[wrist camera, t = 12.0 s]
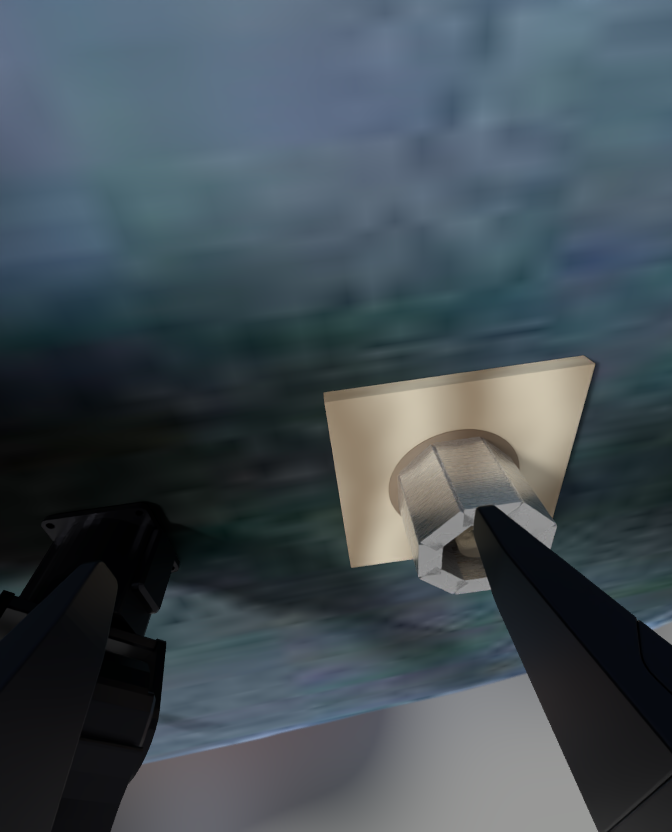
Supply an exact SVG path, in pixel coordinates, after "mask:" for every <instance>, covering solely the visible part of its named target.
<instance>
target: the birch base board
mask: <svg viewBox="0 0 672 832" xmlns="http://www.w3.org/2000/svg"><path fill="white" fill-rule="evenodd" d="M594 367H595V363H593V362H592V361H591V360H589V359H588V358H586V357H585V356H577V357H570V358H563V359H556V360H549V361H542V362H535V363H528V364H521V365H514V366H507V367H500V368H493V369H486V370H479V371H472V372H465V373H458V374H451V375H444V376H437V377H430V378H423V379H416V380H409V381H402V382H395V383H388V384H381V385H374V386H367V387H360V388H353V389H346V390H339V391H332V392H325V393H324V402H325V408H326V415H327V421H328V427H329V433H330V439H331V446H332V452H333V458H334V464H335V471H336V477H337V483H338V489H339V495H340V502H341V508H342V514H343V520H344V527H345V533H346V539H347V545H348V551H349V558H350V564H351V568H353V567H360V566H367V565H374V564H381V563H388V562H395V561H403V560H410V559H413V556H412V552H411V549H410V545H409V542H408V538H407V535H406V531H405V527H404V524H403V520H402V517H401V513H400V510H399V506H398V475H399V472H400V471H401V470H402V469H404V468H405V467H406V466H407V465H408V464H409V463H410V462H411V461H412V460H414V459H415V458H416V457H417V456H418V455H419V454H420V453H421V452H422V451H423V450H425V449H426V448H427V447H428V446H429V445H430V444H431V445H432V446H434V443H435V442H443V441H450V440H457V439H465V438H472V437H479V436H480V438H482V437H483V438H485V439H486V440H487V441H489V442H490V443H491V444H493V445H494V446H495V447H497V448H498V449H500V450H501V451H502V452H504V453H505V454H506V455H508V456H509V457H510V458H511V459H512V460H513V462H514V463H515V465H516V466H517V468H518V469H519V470H520V472H521V473H522V475H523V476H524V478H525V479H526V481H527V482H528V484H529V485H530V486H531V488H532V489H533V491H534V492H535V494H536V495H537V497H538V498H539V500H540V501H541V502H542V504H543V505H544V507H545V508H546V510H547V511H548V513H549V514H550V516H551V517H552V518H553V515H554V511H555V507H556V504H557V500H558V497H559V493H560V489H561V486H562V482H563V479H564V475H565V471H566V468H567V464H568V461H569V457H570V453H571V450H572V446H573V442H574V439H575V435H576V432H577V428H578V424H579V421H580V417H581V414H582V410H583V406H584V403H585V399H586V396H587V392H588V388H589V385H590V381H591V378H592V374H593V370H594Z"/></svg>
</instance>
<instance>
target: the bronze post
mask: <svg viewBox="0 0 672 832" xmlns="http://www.w3.org/2000/svg"><path fill="white" fill-rule="evenodd" d="M454 539H455V541H456V544H457V546H458V549H459V551H460V552H461V553H462V554H463V555H465V556H467V557H480V554H479V551H478V548H477V545H476V542H475V539H474V534H473V526H470V527H469V528H467V529H466V530H465V531H463V532H462V533H461V534H459V535H458V536H457V537H455V538H454Z"/></svg>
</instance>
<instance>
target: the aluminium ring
mask: <svg viewBox="0 0 672 832" xmlns="http://www.w3.org/2000/svg"><path fill="white" fill-rule="evenodd" d="M485 505H494V506H496V507H498V508H499V509H500V510H501V511H503V512H504V513H505V514H506V515H508V516H509V517H510V518H512V519H513V520H514V521H515V522H517V523H518V524H519V525H520V526H522V527H523V528H524V529H525V530H527V531H528V532H529V533H530V534H532V535H533V536H534V537H535V538H537V539H538V540H539V541H541V542H542V543H543V544H544V545H546V546H547V547H548V548H549V549H550V548H551V545H552V541H553V538H554V535H555V531H556V528H557V525H556V523H555V521H554V520H553V518H552V517H551V516H550V514H549V513H548V511H547V510H546V508H545V507H544V505H543V504H542V502H541V501H540V500H539V498H538V497H537V495H536V494H535V492H534V491H533V489H532V488H531V486H530V485H529V484H528V482H527V481H526V479H525V478H524V476H523V475H522V473H521V472H520V470H519V469H518V468H517V466H516V465H515V463H514V462H513V460H512V459H511V458H510V457H509V456H508V455H506V454H505V453H504V452H502V451H501V450H500V449H498V448H497V447H495V446H494V445H493V444H491V443H490V442H489V441H487V440H486V439H485V438H483V437H482V438H480V436H479V437H472V438H465V439H457V440H450V441H443V442H435V443H434V446H432V445H431V444H430V445H429V446H428V447H427V448H426V449H425V450H423V451H422V452H421V453H420V454H419V455H418V456H417V457H416V458H415V459H414V460H412V461H411V462H410V463H409V464H408V465H407V466H406V467H405V468H404V469H402V470H401V471H400V472H399V475H398V506H399V510H400V513H401V517H402V520H403V524H404V527H405V531H406V535H407V538H408V542H409V545H410V549H411V552H412V556H413V560H414V563H415V567H416V570H417V574H418V577H419V578H420V579H421V580H423V581H426V582H428V583H430V584H432V585H434V586H436V587H438V588H441V589H443V590H445V591H447V592H449V593H451V594H453V593H455V594H462V593H469V592H477V591H484V590H491V588H490V585H489V582H488V579H487V576H486V573H485V570H484V567H483V563H482V560H481V557H467V556H465V555H463V554H462V553H461V552H460V551H459V549H458V546H457V544H456V541H455V539H454V538H455V537H457V536H458V535H459V534H461V533H462V532H463V531H465V530H466V529H467V528H469V527H470V526H473V525H474V516H475V510H476V508H477V507H478V506H485Z"/></svg>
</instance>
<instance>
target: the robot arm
mask: <svg viewBox="0 0 672 832" xmlns="http://www.w3.org/2000/svg"><path fill="white" fill-rule="evenodd" d="M41 526H42V527H43V529H44V530H45V531H46V532H47V534H48V535H49V536H50V537H51V539H52V540H53V541H54V542H53V544H52V545H51V547H50V548H49V550H48V552H47V553H46V555H45V556H44V558H43V560H42V561H41V563H40V564H39V566H38V568H37V569H36V571H35V572H34V574H33V575H32V577H31V579H30V580H29V582H28V583H27V585H26V587H25V588H24V590H23V591H22V593H21V595H20V596H19V597H17V596H14V595H15V593H12V592H9V591H5V590H3V592H2V593H1V594H0V832H110V831H111V828H112V825H113V822H114V819H115V816H116V813H117V811H118V808H119V805H120V802H121V800H122V797H123V795H124V792H125V790H126V787H127V785H128V784H129V782H130V781H131V780H132V779H133V778H134V776H135V775H136V773H137V772H138V770H139V768H140V767H141V765H142V763H143V761H144V759H145V757H146V755H147V752H148V750H149V747H150V745H151V742H152V739H153V736H154V733H155V730H156V726H157V722H158V718H159V711H160V702H161V692H162V682H163V672H164V662H165V652H166V641H163V640H160V639H156V640H154V639H151V638H148V637H144V635H145V632H146V629H147V626H148V623H149V620H150V616H151V614H153V613H157V612H158V611H159V609H160V607H161V604H162V601H163V597H164V594H165V591H166V587H167V584H168V581H169V577H170V574H171V573H172V572H176V571H178V569H179V566H180V562H179V560H178V558H177V556H176V552H175V551H174V549H173V547H172V545H171V543H170V542H169V540H168V538H167V536H166V534H165V532H164V531H163V530H162V529H161V527H160V525H159V524H158V522H157V520H156V518H155V516H154V515H153V513H152V511H151V509H150V507H149V506H148V505H146V504H144V503H134V504H127V505H120V506H112V507H105V508H98V509H91V510H84V511H77V512H70V513H63V514H56V515H49V516H47V517H45V519H44V520H43V522H42V523H41ZM473 534H474V539H475V542H476V545H477V548H478V551H479V554H480V557H481V560H482V563H483V567H484V570H485V573H486V576H487V579H488V582H489V585H490V588H491V591H492V594H493V597H494V600H495V602H496V605H497V607H498V609H499V612H500V614H501V616H502V618H503V621H504V623H505V625H506V627H507V629H508V632H509V634H510V636H511V638H512V641H513V643H514V645H515V647H516V649H517V652H518V654H519V656H520V658H521V661H522V663H523V665H524V667H525V670H526V672H527V674H528V676H529V678H530V681H531V683H532V685H533V687H534V690H535V692H536V694H537V696H538V698H539V701H540V703H541V705H542V707H543V710H544V712H545V714H546V716H547V718H548V720H549V723H550V725H551V727H552V730H553V732H554V734H555V736H556V738H557V741H558V743H559V745H560V747H561V749H562V752H563V754H564V756H565V759H566V760H567V763H568V765H569V767H570V770H571V772H572V774H573V776H574V779H575V781H576V783H577V785H578V787H579V790H580V792H581V794H582V796H583V799H584V801H585V803H586V805H587V808H588V810H589V812H590V814H591V816H592V819H593V821H594V823H595V825H596V827H597V830H598V832H672V645H671V644H670V643H668V642H667V641H666V640H665V639H663V638H662V637H661V636H659V635H658V634H657V633H656V632H654V631H653V630H652V629H650V628H649V627H648V626H647V625H645V624H644V623H643V622H642V621H640V620H638V621H637V618H636V617H635V616H634V615H633V614H631V613H630V612H629V611H628V610H626V609H625V608H624V607H623V606H621V605H620V604H619V603H617V602H616V601H615V600H614V599H612V598H611V597H610V596H609V595H607V594H606V593H605V592H604V591H602V590H601V589H600V588H599V587H597V586H596V585H595V584H593V583H592V582H591V581H590V580H588V579H587V578H586V577H585V576H583V575H582V574H581V573H580V572H578V571H577V570H576V569H575V568H573V567H572V566H571V565H570V564H568V563H567V562H566V561H564V560H563V559H562V558H561V557H559V556H558V555H557V554H556V553H554V552H553V551H552V550H551V549H549V548H548V547H547V546H546V545H544V544H543V543H542V542H541V541H539V540H538V539H537V538H535V537H534V536H533V535H532V534H530V533H529V532H528V531H527V530H525V529H524V528H523V527H522V526H520V525H519V524H518V523H517V522H515V521H514V520H513V519H512V518H510V517H509V516H508V515H506V514H505V513H504V512H503V511H501V510H500V509H499V508H498V507H496V506H494V505H485V506H478V507H477V508H476V510H475V516H474V525H473Z"/></svg>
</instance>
